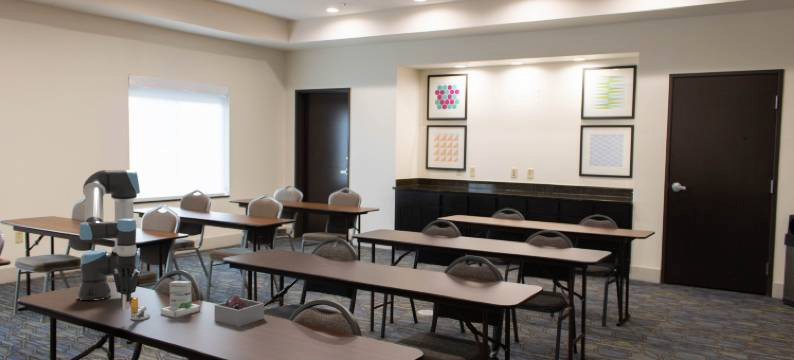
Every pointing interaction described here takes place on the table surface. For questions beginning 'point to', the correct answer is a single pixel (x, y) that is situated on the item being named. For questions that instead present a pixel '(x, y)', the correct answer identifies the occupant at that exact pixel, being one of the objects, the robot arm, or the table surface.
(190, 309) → the tray
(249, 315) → the parts crate
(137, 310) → the crank
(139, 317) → the crank base
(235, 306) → the brake caliper
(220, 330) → the table surface
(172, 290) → the ink box
